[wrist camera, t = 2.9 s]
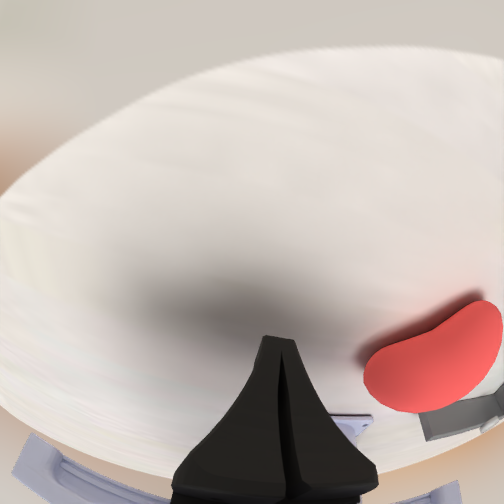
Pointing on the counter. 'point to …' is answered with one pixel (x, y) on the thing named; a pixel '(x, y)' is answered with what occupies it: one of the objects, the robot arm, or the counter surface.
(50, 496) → the robot arm
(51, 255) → the counter surface
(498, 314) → the red kidney bean shape
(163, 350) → the counter surface
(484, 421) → the gray u-shaped bracket
